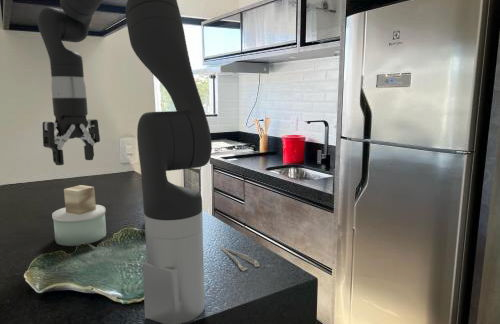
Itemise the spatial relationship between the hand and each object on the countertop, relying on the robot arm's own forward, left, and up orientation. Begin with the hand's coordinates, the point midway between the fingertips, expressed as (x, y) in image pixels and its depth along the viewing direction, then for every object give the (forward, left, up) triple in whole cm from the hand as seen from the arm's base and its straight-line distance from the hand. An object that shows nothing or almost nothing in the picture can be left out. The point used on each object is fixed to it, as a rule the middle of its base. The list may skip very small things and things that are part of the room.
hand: (75, 162), depth 93 cm
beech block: (+1, 0, -13) cm, 13 cm away
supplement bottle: (+17, -10, -20) cm, 28 cm away
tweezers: (+8, -40, -20) cm, 46 cm away
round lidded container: (0, 0, -20) cm, 20 cm away
